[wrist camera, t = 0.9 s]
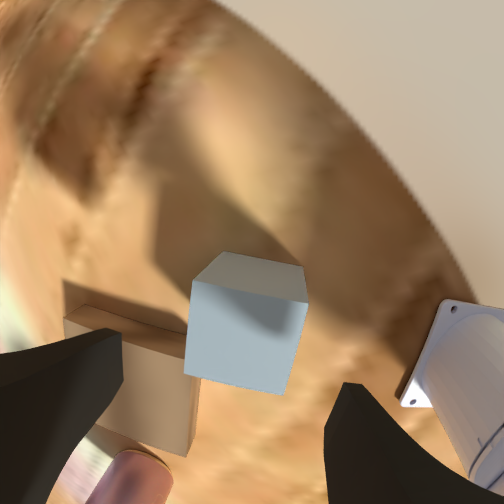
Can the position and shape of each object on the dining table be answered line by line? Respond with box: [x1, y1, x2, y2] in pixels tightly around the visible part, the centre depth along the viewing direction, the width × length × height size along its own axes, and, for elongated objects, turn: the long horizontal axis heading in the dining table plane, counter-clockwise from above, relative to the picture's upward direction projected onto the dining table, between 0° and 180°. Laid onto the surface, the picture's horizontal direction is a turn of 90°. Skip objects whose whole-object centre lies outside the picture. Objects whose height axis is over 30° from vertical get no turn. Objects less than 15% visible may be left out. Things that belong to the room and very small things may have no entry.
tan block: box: [63, 304, 201, 457], centre depth 18 cm, size 9×9×3 cm
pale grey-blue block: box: [184, 251, 309, 395], centre depth 14 cm, size 4×4×6 cm
